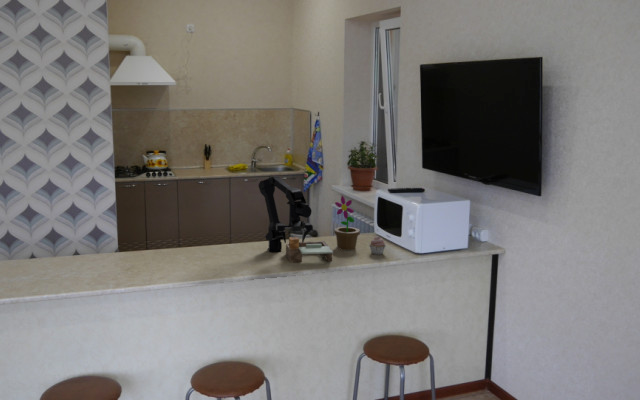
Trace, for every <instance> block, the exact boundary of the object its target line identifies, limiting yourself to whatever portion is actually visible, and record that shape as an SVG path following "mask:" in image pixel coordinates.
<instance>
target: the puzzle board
mask: <svg viewBox="0 0 640 400" xmlns="http://www.w3.org/2000/svg"><path fill="white" fill-rule="evenodd" d="M306 244H322V246H329V244H328V243H327V242H326V241H325V240H319V241H318V240H317V241H309V240H308V241H304V242H303V243H302V241H299V247H306ZM330 249H331V250H332V251H333V249H332V248H331V247H330ZM322 255H323V256H324V258H327V259H326V260H327V261H328V262H332V261H333V253H322ZM285 256H286V257H287V259H288V261H289V263H302V262H303V261H302V260H303V254H302V253H301V252H300V250H299V249H290V247H289V243H287V244H286V243H285Z"/></svg>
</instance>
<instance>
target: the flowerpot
mask: <svg viewBox="0 0 640 400" xmlns="http://www.w3.org/2000/svg"><path fill="white" fill-rule="evenodd" d="M340 201H341V202H339V201H335V203H334V204H335V206H336V207H338V208H339V209H338V210H337V212H336V215H341V214H342V213H343V217H344V219H345V220H346V221H345V220H343V221H341V222H340V224H342V225H344V226H338V227H336V228H334V231H333V233H334V235H335V236H336V245H337V246H336V247H337V249H339V250H341V249H342V250H343V251H353V250H356V246H357V243H358V238H359V237H358V236H359V235H360V234H361V230H360V229H359V228H356V227H351V226H349V223H355V219H354V218H353V217H352V216H349V213H350V214H351V213H354V209H353V208H351V207H350V205H352V203H353V201H352V199H350V200H348V201H346V198H345V197H344V195H342V196H341V197H340Z"/></svg>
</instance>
